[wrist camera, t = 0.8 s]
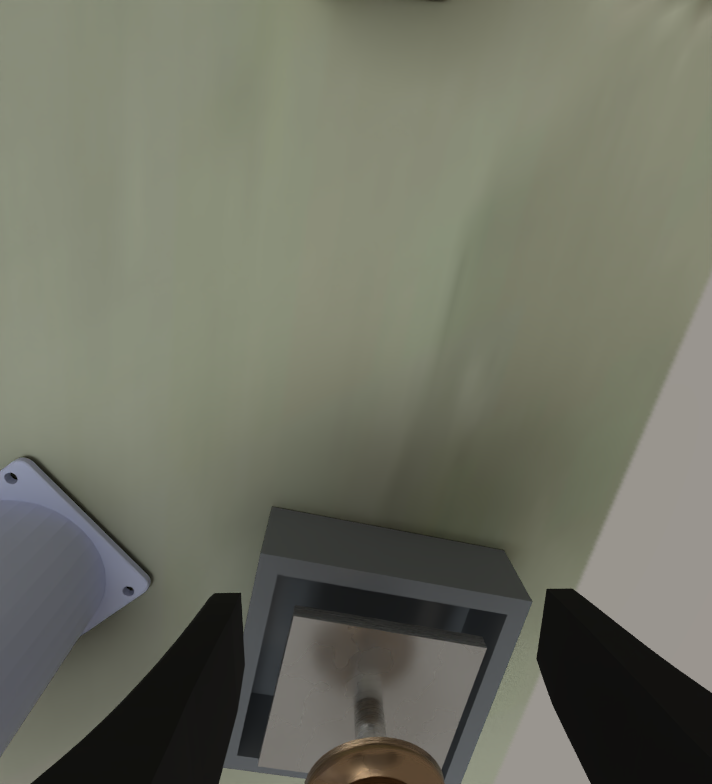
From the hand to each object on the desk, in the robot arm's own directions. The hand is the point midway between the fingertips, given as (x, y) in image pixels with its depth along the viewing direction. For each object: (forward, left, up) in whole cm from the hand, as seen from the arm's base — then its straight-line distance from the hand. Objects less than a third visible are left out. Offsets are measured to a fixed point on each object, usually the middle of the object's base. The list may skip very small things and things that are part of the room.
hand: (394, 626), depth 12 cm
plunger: (-5, -7, -7) cm, 12 cm away
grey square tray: (-5, -7, -10) cm, 14 cm away
